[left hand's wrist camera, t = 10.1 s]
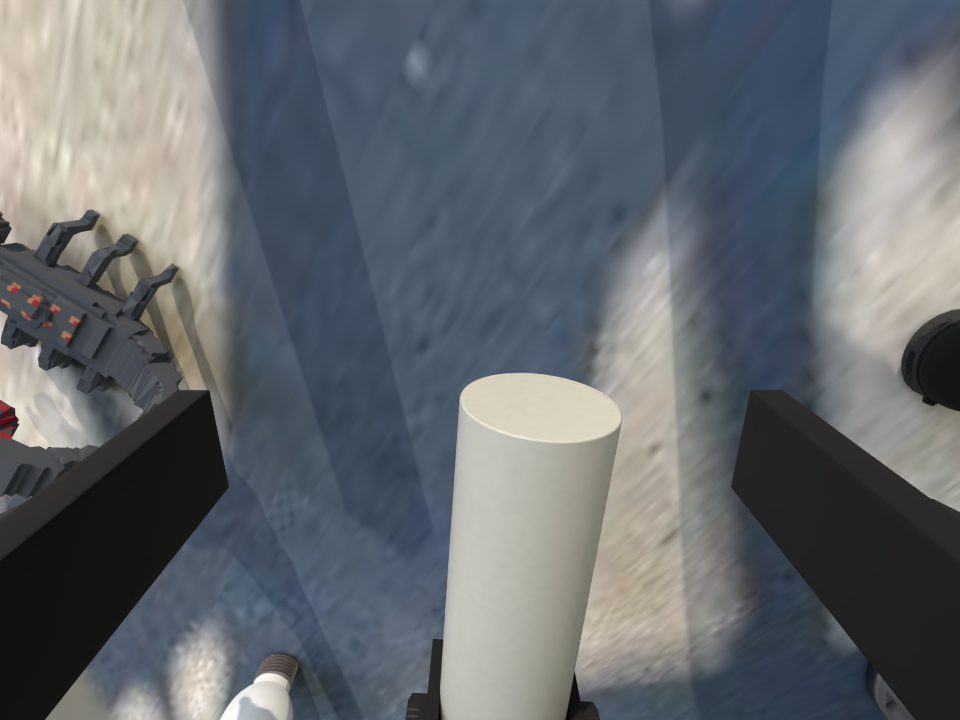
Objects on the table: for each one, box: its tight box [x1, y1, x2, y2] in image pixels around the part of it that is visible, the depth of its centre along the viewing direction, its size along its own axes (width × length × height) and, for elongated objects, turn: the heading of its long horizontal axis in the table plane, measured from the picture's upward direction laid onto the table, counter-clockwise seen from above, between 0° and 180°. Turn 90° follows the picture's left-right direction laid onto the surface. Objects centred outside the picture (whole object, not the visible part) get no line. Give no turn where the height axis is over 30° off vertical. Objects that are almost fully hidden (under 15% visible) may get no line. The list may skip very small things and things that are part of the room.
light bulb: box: [220, 655, 298, 720], centre depth 51 cm, size 7×7×11 cm
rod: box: [438, 373, 622, 720], centre depth 29 cm, size 25×8×8 cm, turn 176°
